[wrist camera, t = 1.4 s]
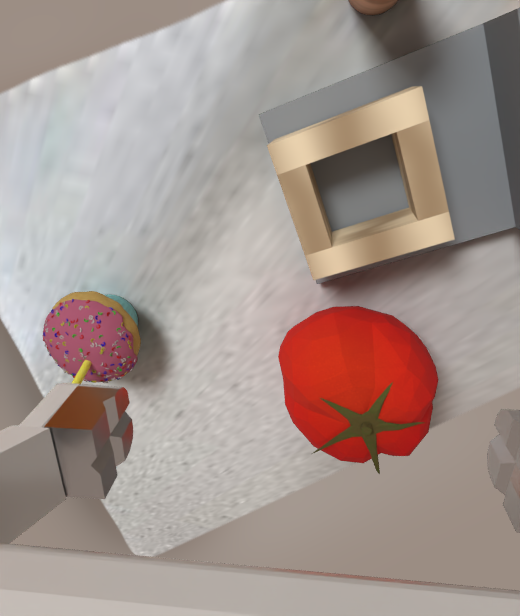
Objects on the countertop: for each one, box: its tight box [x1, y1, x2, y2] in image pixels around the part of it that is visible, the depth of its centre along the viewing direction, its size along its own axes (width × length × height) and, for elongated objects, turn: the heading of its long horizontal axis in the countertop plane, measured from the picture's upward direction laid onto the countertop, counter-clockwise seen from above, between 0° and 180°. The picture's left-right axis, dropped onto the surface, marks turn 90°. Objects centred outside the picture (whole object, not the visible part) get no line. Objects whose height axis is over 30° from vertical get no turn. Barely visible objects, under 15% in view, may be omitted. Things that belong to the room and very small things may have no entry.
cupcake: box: [43, 291, 141, 384], centre depth 39 cm, size 9×8×12 cm
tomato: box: [278, 306, 438, 473], centre depth 37 cm, size 12×13×12 cm
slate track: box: [259, 8, 520, 284], centre depth 32 cm, size 18×14×8 cm
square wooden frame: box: [267, 86, 455, 280], centre depth 32 cm, size 10×10×4 cm
